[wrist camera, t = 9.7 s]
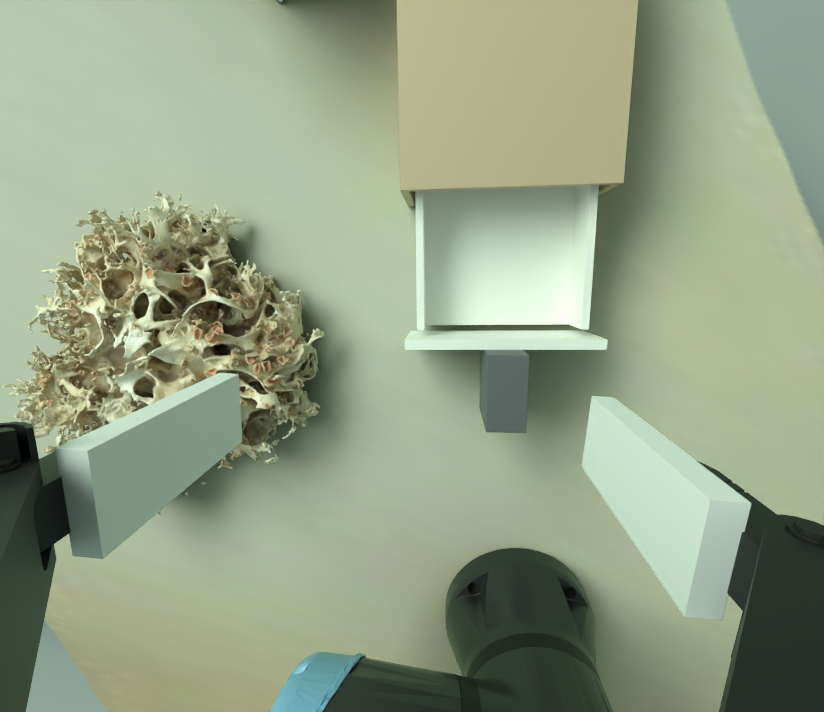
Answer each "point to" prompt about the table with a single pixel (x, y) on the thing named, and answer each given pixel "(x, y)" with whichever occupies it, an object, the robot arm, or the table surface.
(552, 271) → the tray
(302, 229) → the table surface
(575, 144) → the sleeve
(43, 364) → the dried lichen
